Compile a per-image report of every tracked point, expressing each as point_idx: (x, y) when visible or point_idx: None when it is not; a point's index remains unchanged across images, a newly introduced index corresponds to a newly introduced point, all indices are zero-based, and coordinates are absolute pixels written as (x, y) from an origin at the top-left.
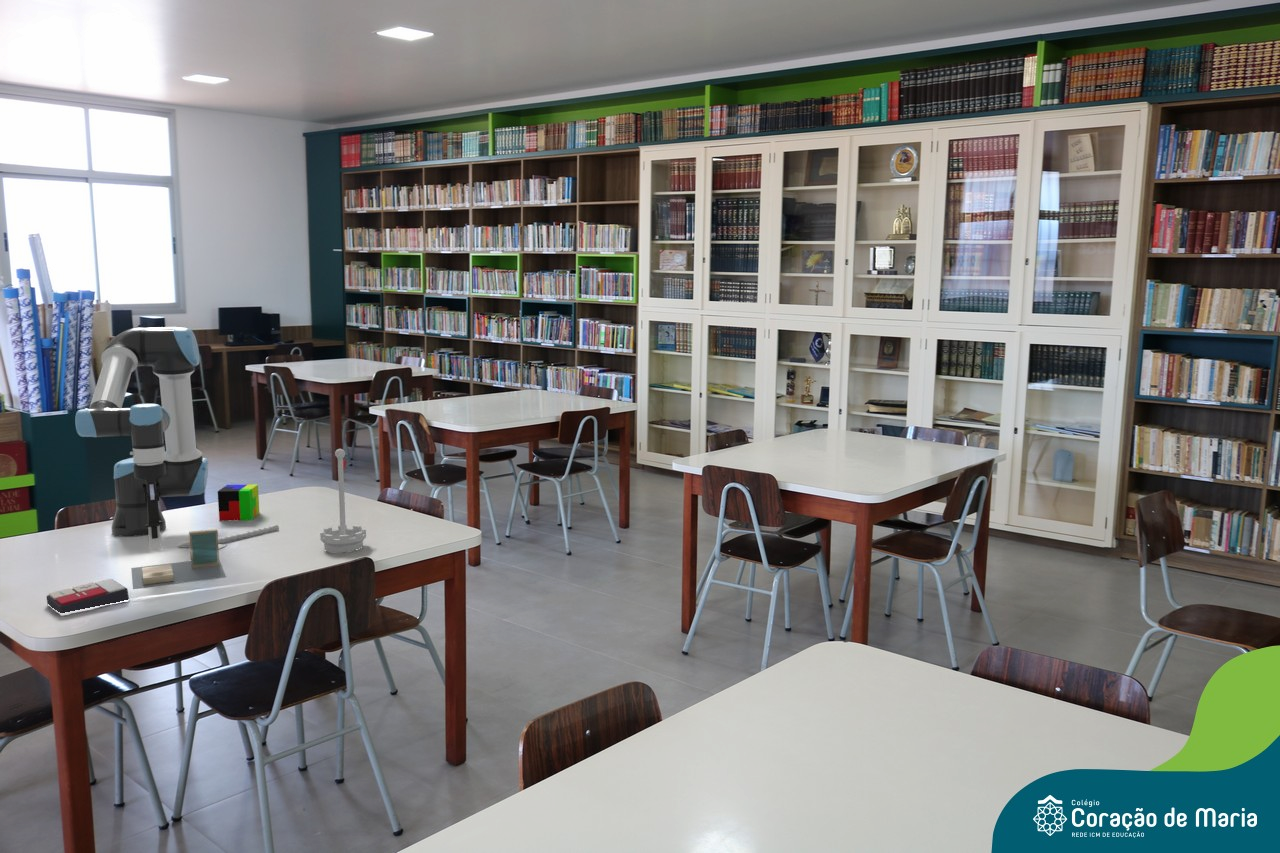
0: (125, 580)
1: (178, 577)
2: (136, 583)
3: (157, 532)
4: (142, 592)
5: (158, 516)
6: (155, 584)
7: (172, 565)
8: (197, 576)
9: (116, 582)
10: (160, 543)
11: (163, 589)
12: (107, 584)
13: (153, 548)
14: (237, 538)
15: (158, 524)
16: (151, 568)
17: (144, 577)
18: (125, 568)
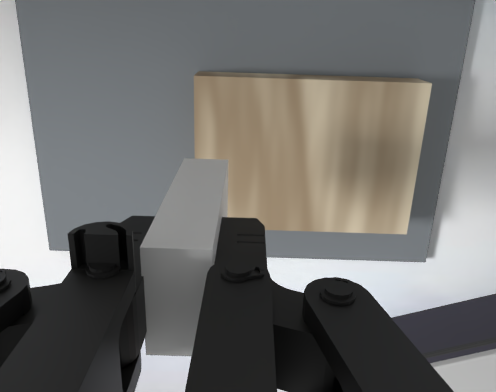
0: None
1: (350, 45)
2: (341, 244)
3: (264, 245)
4: (470, 223)
5: (438, 382)
6: None
7: (78, 55)
8: None
9: (493, 357)
10: (224, 177)
11: (487, 134)
12: (491, 387)
13: (226, 215)
14: None
15: (359, 296)
16: (234, 184)
17: (397, 227)
18: (16, 267)
